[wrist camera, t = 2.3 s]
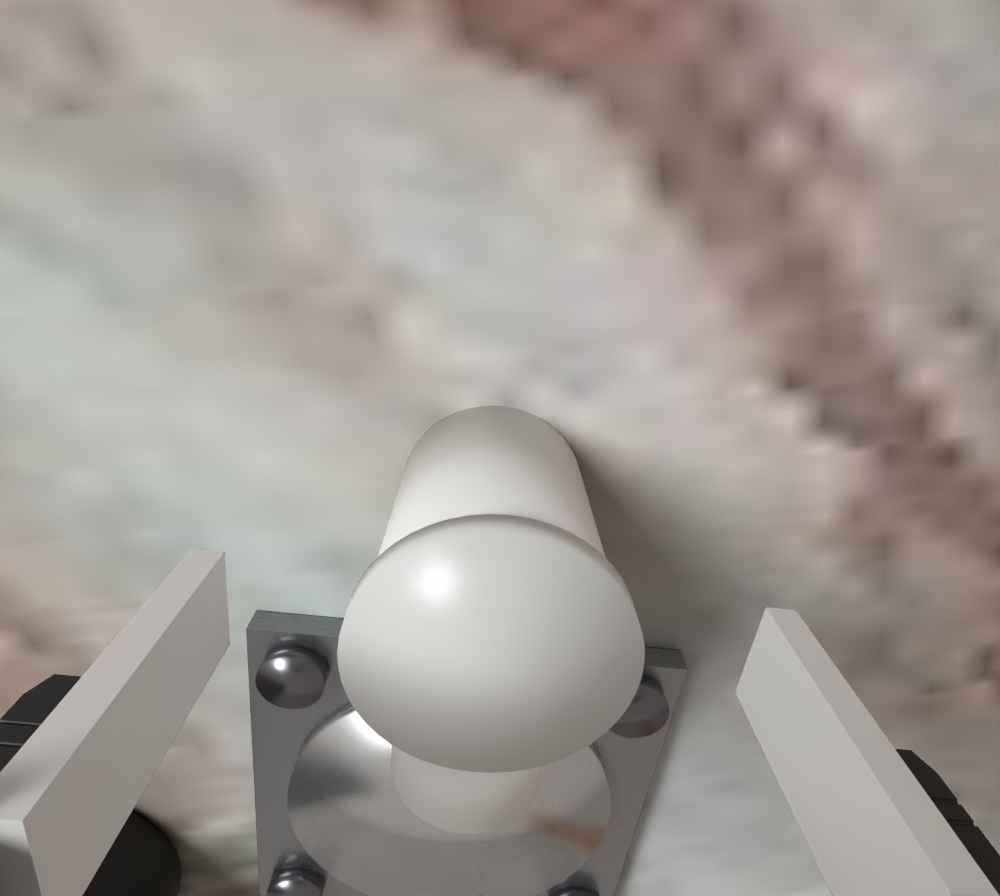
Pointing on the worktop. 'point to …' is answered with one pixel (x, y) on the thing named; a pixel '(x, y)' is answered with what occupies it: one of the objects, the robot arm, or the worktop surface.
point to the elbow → (488, 622)
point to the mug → (137, 864)
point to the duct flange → (385, 817)
